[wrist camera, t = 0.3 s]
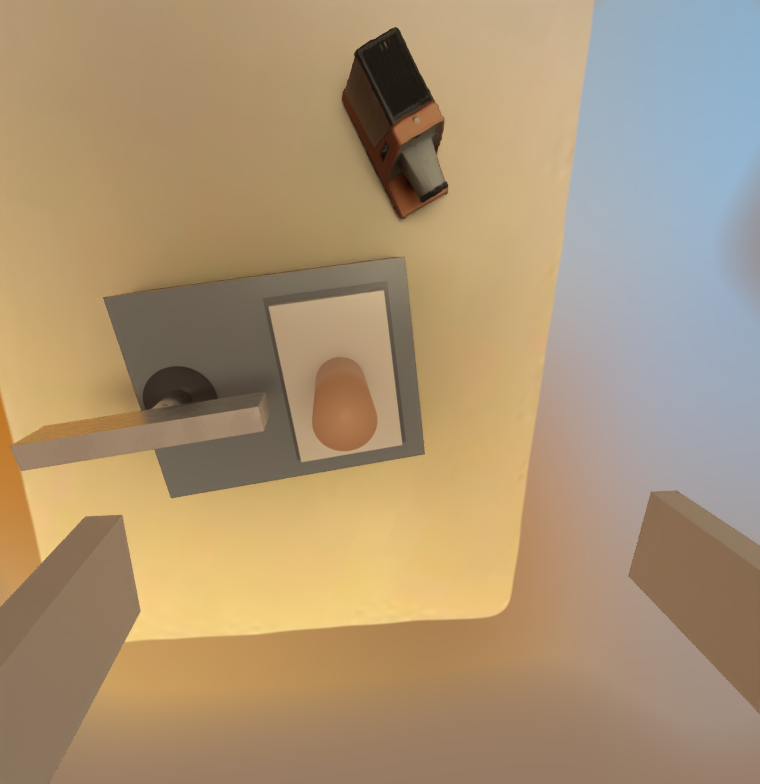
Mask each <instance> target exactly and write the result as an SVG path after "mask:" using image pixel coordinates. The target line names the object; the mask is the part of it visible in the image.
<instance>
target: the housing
mask: <svg viewBox="0 0 760 784" xmlns="http://www.w3.org/2000/svg"><path fill="white" fill-rule="evenodd" d="M378 289H382V290H384V295H385V303H386V312H387V320H388V328H389V337H390V345H391V354H392V362H393V370H394V379H395V387H396V395H397V404H398V412H399V420H400V429H401V437H402V445H400V446H394V447H388V448H382V449H376V450H370V451H365V452H359V453H353V454H347V455H341V456H335V457H330V458H324V459H318V460H312V461H306V462H301V458H300V453H299V449H298V444H297V439H296V434H295V430H294V425H293V420H292V416H291V411H290V406H289V401H288V397H287V392H286V387H285V383H284V378H283V373H282V368H281V364H280V359H279V354H278V349H277V345H276V340H275V335H274V331H273V326H272V321H271V316H270V312H269V306H270V305H271V304H278V303H285V302H292V301H299V300H306V299H314V298H321V297H328V296H335V295H342V294H349V293H356V292H363V291H371V290H378ZM103 299H104V302H105V305H106V308H107V311H108V314H109V317H110V319H111V322H112V325H113V328H114V331H115V334H116V337H117V340H118V343H119V346H120V349H121V352H122V355H123V358H124V361H125V364H126V367H127V370H128V373H129V376H130V379H131V381H132V384H133V387H134V390H135V393H136V396H137V399H138V402H139V405H140V408H141V411H143V410H150V409H151V408H153V407H154V406H155V405H156V404H157V403H159V402H160V401H161V400H162V399H163V398H164V397H166V396H167V395H168V394H169V393H171V392H172V391H183V392H185V393H186V394H188V395H189V397H190V398H191V401H192V403H194V402H201V401H207V400H214V399H220V398H226V397H233V396H239V395H245V394H252V393H258V392H265V393H266V397H267V402H268V406H269V411H270V416H269V418H268V421H267V424H266V426H265V429H264V431H262V432H256V433H250V434H244V435H237V436H231V437H225V438H219V439H213V440H207V441H201V442H195V443H189V444H183V445H177V446H170V447H164V448H158V449H155V452H156V455H157V458H158V461H159V464H160V467H161V470H162V473H163V476H164V479H165V482H166V485H167V488H168V491H169V494H170V497H171V498H175V497H181V496H187V495H193V494H198V493H204V492H210V491H216V490H221V489H227V488H233V487H239V486H244V485H250V484H256V483H262V482H267V481H273V480H279V479H285V478H290V477H296V476H302V475H308V474H313V473H319V472H325V471H331V470H336V469H342V468H348V467H354V466H359V465H365V464H371V463H377V462H382V461H388V460H394V459H400V458H405V457H411V456H417V455H423V454H425V451H424V441H423V431H422V421H421V412H420V402H419V392H418V382H417V372H416V362H415V352H414V342H413V332H412V322H411V313H410V303H409V293H408V283H407V273H406V263H405V257H392V258H385V259H378V260H370V261H363V262H355V263H348V264H340V265H333V266H326V267H318V268H311V269H303V270H296V271H288V272H281V273H273V274H266V275H259V276H251V277H244V278H236V279H229V280H221V281H214V282H207V283H199V284H192V285H184V286H177V287H169V288H162V289H155V290H147V291H140V292H133V293H127V294H121V295H115V296H109V297H103Z"/></svg>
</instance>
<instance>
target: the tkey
mask: <svg viewBox="0 0 760 784" xmlns="http://www.w3.org/2000/svg"><path fill="white" fill-rule="evenodd" d="M269 416H270V411H269V406H268V402H267V397H266V393H265V392H258V393H252V394H245V395H239V396H233V397H226V398H220V399H214V400H207V401H201V402H194V403H192V401H191V398H190V397H189V395H188V394H186V393H185V392H183V391H172V392H171V393H169V394H168V395H167V396H166V397H164V398H163V399H162V400H161V401H160V402H159V403H157V404H156V405H155V406H154V407H153V408H151V409H150V410H143V411H137V412H131V413H124V414H118V415H111V416H105V417H99V418H92V419H86V420H80V421H73V422H67V423H60V424H54V425H48V426H43V427H42V428H40V429H38V430H37V431H35V432H33V433H32V434H30V435H28V436H26V437H25V438H23V439H21V440H20V441H18V442H16V443H15V444H13V445H11V446H10V448H11V450H12V452H13V455H14V457H15V459H16V461H17V463H18V465H19V468H20V470H21V471H24V470H30V469H37V468H43V467H49V466H55V465H61V464H67V463H73V462H79V461H85V460H91V459H97V458H104V457H110V456H116V455H122V454H128V453H134V452H140V451H146V450H152V449H158V448H164V447H170V446H177V445H183V444H189V443H195V442H201V441H207V440H213V439H219V438H225V437H231V436H237V435H244V434H250V433H256V432H262V431H264V429H265V426H266V424H267V421H268V418H269Z"/></svg>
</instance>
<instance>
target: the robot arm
mask: <svg viewBox="0 0 760 784" xmlns="http://www.w3.org/2000/svg"><path fill="white" fill-rule="evenodd" d="M629 577H630V578H631V579H632V580H633V581H634V582H635V583H636V584H637V586H638V587H639V588H640V589H642V591H643V592H644V593H645V594H646V595H647V596H648V597H649V598H650V599H651V600H652V601H653V602H654V603H655V604H656V606H658V608H659V609H660V610H661V611H662V612H663V613H664V614H665V615H666V616H667V617H668V618H669V619H670V620H671V621H672V622H673V623H674V624H675V625H676V626H677V628H678V629H679V630H680V631H681V632H682V633H683V634H684V635H685V636H686V637H687V638H688V639H689V640H690V641H691V642H692V643H693V644H694V645H695V646H696V648H698V650H699V651H700V652H701V653H702V654H703V655H704V656H705V657H706V658H707V659H708V660H709V661H710V662H711V663H712V664H713V665H714V666H715V667H716V668H717V670H718V671H719V672H720V673H721V674H722V675H723V676H724V677H725V678H726V679H727V680H728V681H729V682H730V683H731V684H732V685H733V686H734V687H735V688H736V689H737V691H738V692H739V693H740V694H741V695H742V696H743V697H744V698H745V699H746V700H747V701H748V702H749V703H750V704H751V705H752V706H753V707H754V708H755V710H756V711H757V712H758V713H759V714H760V545H758V544H757V543H755V542H754V541H752V540H750V539H749V538H748V537H746V536H745V535H743V534H741V533H740V532H738V531H737V530H735V529H734V528H732V527H731V526H729V525H728V524H726V523H725V522H723V521H722V520H720V519H719V518H717V517H716V516H714V515H713V514H711V513H710V512H708V511H707V510H705V509H704V508H702V507H701V506H699V505H698V504H696V503H695V502H693V501H692V500H690V499H689V498H687V497H686V496H684V495H683V494H681V493H680V492H678V491H659V492H651V493H650V497H649V501H648V505H647V509H646V512H645V516H644V520H643V523H642V527H641V531H640V534H639V538H638V542H637V546H636V549H635V553H634V557H633V561H632V564H631V568H630V572H629ZM139 613H140V606H139V601H138V596H137V590H136V585H135V580H134V574H133V569H132V564H131V559H130V553H129V548H128V543H127V538H126V532H125V527H124V522H123V516H122V515H110V516H87V517H84V519H83V520H82V521H81V522H80V523H79V524H78V525H77V526H76V527H75V528H74V529H73V530H72V531H71V532H70V534H69V535H68V536H67V537H66V538H65V539H64V540H63V541H62V542H61V543H60V544H59V545H58V546H57V547H56V548H55V550H54V551H53V552H52V553H51V554H50V555H49V556H48V557H47V558H46V559H45V560H44V561H43V562H42V563H41V564H40V566H39V567H38V568H37V569H36V570H35V571H34V572H33V573H32V574H31V575H30V576H29V578H28V579H26V580H25V582H24V583H23V584H22V585H21V586H20V587H19V588H18V589H17V590H16V591H15V592H14V593H13V594H12V595H11V597H10V598H9V599H8V600H7V601H6V602H5V603H4V604H3V605H2V606H1V607H0V784H49V783H50V782H51V779H52V778H53V776H54V774H55V772H56V770H57V768H58V766H59V764H60V763H61V761H62V759H63V757H64V755H65V753H66V751H67V749H68V747H69V746H70V744H71V742H72V740H73V738H74V736H75V734H76V732H77V730H78V728H79V727H80V725H81V723H82V721H83V719H84V717H85V715H86V713H87V712H88V710H89V708H90V706H91V704H92V702H93V700H94V698H95V696H96V695H97V692H98V691H99V689H100V687H101V685H102V683H103V681H104V679H105V677H106V676H107V674H108V672H109V670H110V668H111V666H112V664H113V662H114V660H115V659H116V657H117V655H118V653H119V651H120V649H121V647H122V645H123V643H124V641H125V640H126V638H127V636H128V634H129V632H130V630H131V628H132V626H133V624H134V623H135V621H136V619H137V617H138V615H139Z"/></svg>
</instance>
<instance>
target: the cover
mask: <svg viewBox="0 0 760 784" xmlns="http://www.w3.org/2000/svg"><path fill="white" fill-rule="evenodd" d="M269 312H270V316H271V321H272V326H273V331H274V335H275V340H276V345H277V349H278V354H279V359H280V364H281V368H282V373H283V378H284V383H285V387H286V392H287V397H288V401H289V406H290V411H291V416H292V420H293V425H294V430H295V434H296V439H297V444H298V449H299V453H300V458H301V462H306V461H312V460H318V459H324V458H330V457H335V456H341V455H347V454H353V453H359V452H365V451H370V450H376V449H382V448H388V447H394V446H400V445H402V437H401V429H400V420H399V412H398V404H397V395H396V387H395V379H394V370H393V362H392V354H391V345H390V337H389V328H388V320H387V312H386V303H385V295H384V290H382V289H378V290H371V291H363V292H356V293H349V294H342V295H335V296H328V297H321V298H314V299H306V300H299V301H292V302H285V303H278V304H271V305H270V306H269Z"/></svg>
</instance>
